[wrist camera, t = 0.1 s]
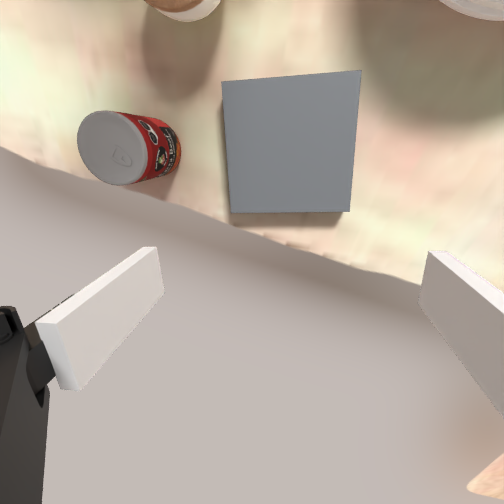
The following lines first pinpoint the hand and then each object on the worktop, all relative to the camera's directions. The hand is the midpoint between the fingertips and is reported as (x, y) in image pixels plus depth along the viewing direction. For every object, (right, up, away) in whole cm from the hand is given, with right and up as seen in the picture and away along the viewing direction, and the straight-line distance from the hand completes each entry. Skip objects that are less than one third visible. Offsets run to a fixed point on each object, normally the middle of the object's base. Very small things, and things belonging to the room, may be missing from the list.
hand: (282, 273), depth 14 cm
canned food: (-15, +16, +27) cm, 35 cm away
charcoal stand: (+4, +15, +24) cm, 28 cm away
